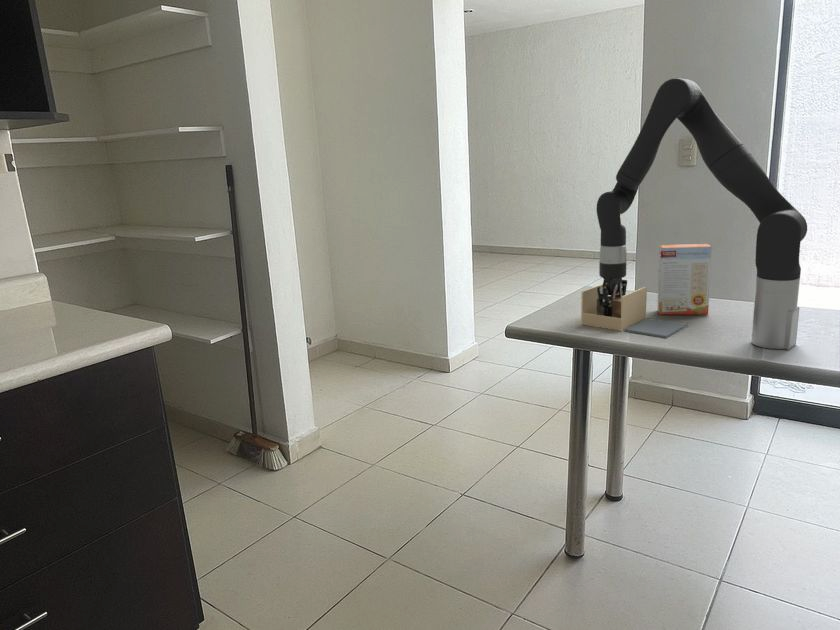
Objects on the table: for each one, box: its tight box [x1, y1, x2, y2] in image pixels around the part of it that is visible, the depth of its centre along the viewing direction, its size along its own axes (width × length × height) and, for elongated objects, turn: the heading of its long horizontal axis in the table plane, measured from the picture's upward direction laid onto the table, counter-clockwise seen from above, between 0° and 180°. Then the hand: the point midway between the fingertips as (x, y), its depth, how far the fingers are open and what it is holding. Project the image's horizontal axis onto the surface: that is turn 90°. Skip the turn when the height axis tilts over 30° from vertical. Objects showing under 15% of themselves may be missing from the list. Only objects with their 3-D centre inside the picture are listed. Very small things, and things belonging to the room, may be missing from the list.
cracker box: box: [657, 243, 712, 316], centre depth 183 cm, size 14×6×21 cm, turn 74°
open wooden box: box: [580, 283, 648, 332], centre depth 179 cm, size 13×15×10 cm
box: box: [597, 297, 621, 318], centre depth 179 cm, size 9×5×7 cm, turn 45°
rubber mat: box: [624, 317, 689, 339], centre depth 171 cm, size 12×14×1 cm
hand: (612, 316), depth 180 cm, fingers closed on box, 4 cm apart
